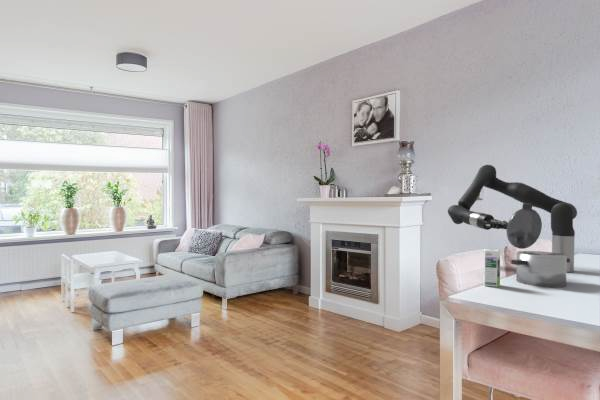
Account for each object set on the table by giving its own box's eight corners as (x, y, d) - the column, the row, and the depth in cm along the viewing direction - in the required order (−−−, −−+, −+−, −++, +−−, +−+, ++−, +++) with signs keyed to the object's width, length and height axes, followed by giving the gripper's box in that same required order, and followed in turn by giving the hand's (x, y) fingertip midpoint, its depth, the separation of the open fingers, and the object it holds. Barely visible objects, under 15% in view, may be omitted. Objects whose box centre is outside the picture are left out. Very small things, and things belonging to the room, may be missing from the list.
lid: (506, 249, 176) (504, 248, 177) (538, 248, 181) (536, 247, 182) (512, 203, 173) (510, 203, 174) (545, 204, 178) (542, 203, 179)
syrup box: (483, 286, 161) (484, 249, 161) (483, 283, 167) (483, 248, 167) (499, 287, 159) (500, 250, 159) (498, 284, 165) (499, 249, 164)
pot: (497, 279, 174) (497, 251, 174) (547, 276, 182) (548, 250, 182) (532, 289, 157) (532, 258, 157) (586, 285, 165) (586, 256, 165)
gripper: (490, 227, 204) (521, 235, 188) (470, 228, 199) (500, 237, 183) (492, 212, 203) (522, 219, 187) (472, 213, 198) (502, 220, 182)
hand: (511, 228), depth 185 cm, fingers closed
